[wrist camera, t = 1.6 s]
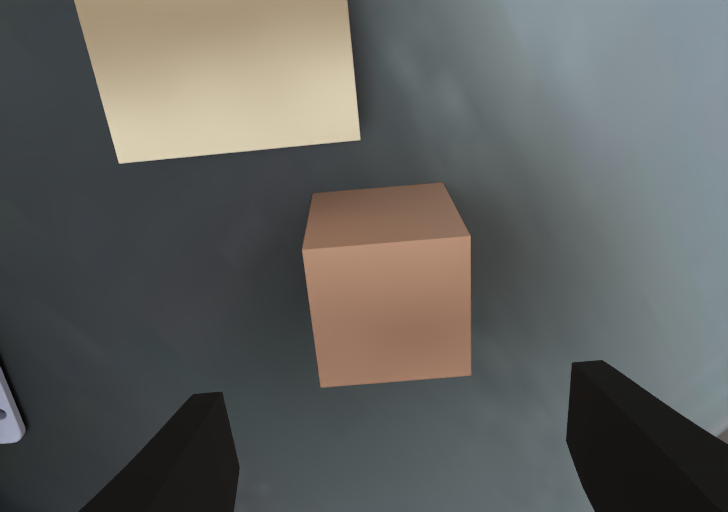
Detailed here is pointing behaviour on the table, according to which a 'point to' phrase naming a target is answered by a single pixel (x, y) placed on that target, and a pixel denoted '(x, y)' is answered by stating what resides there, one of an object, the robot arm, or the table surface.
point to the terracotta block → (388, 285)
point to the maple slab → (221, 74)
